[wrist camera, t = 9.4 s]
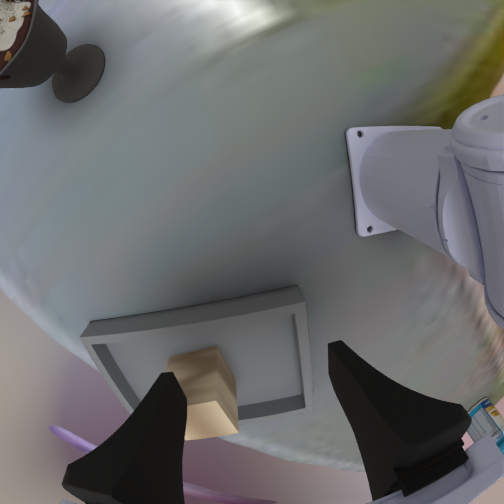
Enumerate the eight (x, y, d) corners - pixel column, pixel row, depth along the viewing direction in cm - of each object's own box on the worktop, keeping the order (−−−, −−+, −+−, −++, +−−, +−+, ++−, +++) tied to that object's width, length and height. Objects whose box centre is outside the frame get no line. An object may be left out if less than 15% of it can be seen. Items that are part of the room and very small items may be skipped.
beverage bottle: (464, 410, 35) (506, 473, 16) (491, 389, 34) (534, 446, 16) (456, 428, 38) (491, 485, 19) (481, 409, 37) (518, 461, 18)
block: (217, 345, 21) (216, 400, 16) (236, 380, 23) (238, 432, 17) (169, 356, 22) (157, 409, 16) (191, 389, 23) (185, 440, 18)
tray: (297, 285, 21) (305, 301, 18) (308, 392, 25) (314, 410, 23) (90, 321, 21) (79, 337, 18) (146, 413, 25) (142, 429, 23)
